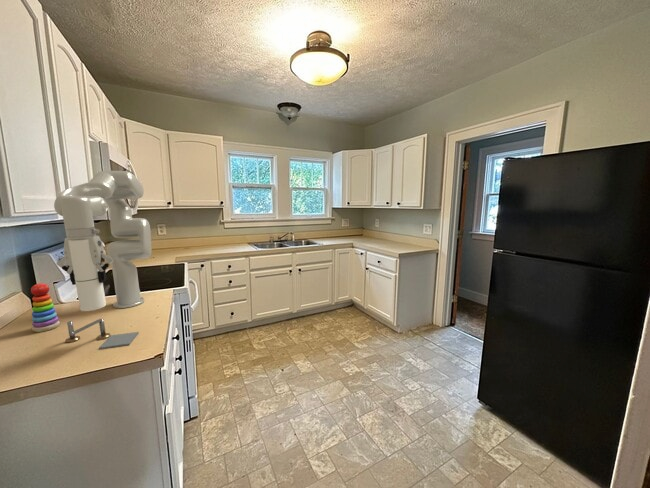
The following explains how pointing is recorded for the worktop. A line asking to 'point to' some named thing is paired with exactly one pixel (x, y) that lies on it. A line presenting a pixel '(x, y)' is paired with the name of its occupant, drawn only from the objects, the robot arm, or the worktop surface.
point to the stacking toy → (43, 309)
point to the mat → (119, 340)
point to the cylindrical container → (86, 276)
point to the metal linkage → (72, 332)
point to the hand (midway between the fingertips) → (89, 282)
